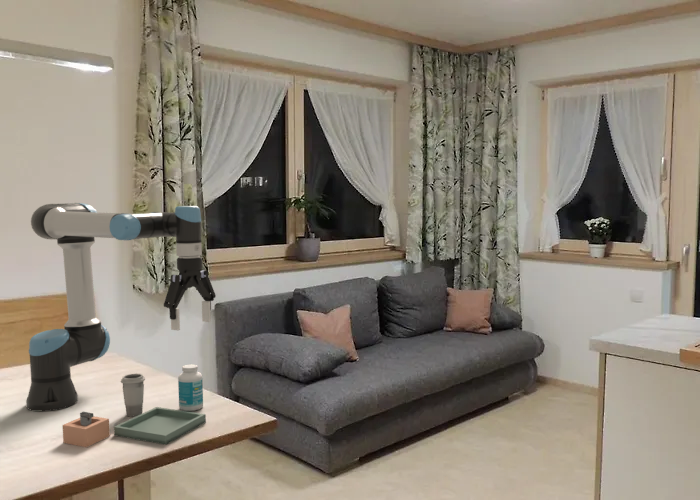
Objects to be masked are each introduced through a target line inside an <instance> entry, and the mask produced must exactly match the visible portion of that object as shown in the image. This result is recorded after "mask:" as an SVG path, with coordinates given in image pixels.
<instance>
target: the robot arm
mask: <svg viewBox="0 0 700 500" xmlns="http://www.w3.org/2000/svg"><path fill="white" fill-rule="evenodd" d="M201 215H202V214H201V208H200V207H199V206H197V205H178V206H175V208H174V212H165V211H161V212H160V211H152V212H151V211H150V212H145V213H144V212H143V213H127V212H126V213H124V212H122V213H119V212H118V213H117V212H98V210H97V209H95V208H94V207H93V206H92V205H91V204H88V203H83V202H74V203H73V202H72V203H69V202H68V203H47V204H43V205H41V206H39V207H37V208H36V209H35V211H34V212H33V213H32V215H31V218H30V225H31V229H32V230H33V232H34V233H35V234H36V235H37V236H39V237H40V238H42V239H46V240H56V241H57V245H58V246H59V248H61V249H62V253H63V268H64V278H65V279H64V280H65V291H66V303H67V304H66V305H67V313H68V314H67V315H68V316H67V317H68V319H67V321H66V322H65V323H64V325H63V326H64V328H54V329H53V328H52V329H51V330H50V329H47V330H43V331H41V332H38V333H36V334H34V335H33V336H31V338H30V340H29V341H28V342H29V344H28V346H29V347H28V354H29V368H30V386H29V390H28V395H27V398H26V400H25V403H26V404H25V405H26V406H27V407H26V406H25V407H26V409H27V408H29V409H31V410H30V411H32V410H42V411H41V412H46V411H45V410H51V411H56V409H57V410H62V409H65V408H69V407H71V406H73V405H75V404H77V403H78V401H79V397H78V392H77V389H76V387H75V385H74V383H73V380H72V377H71V367H74V366H77V365H82V364H85V363H88V362H93V361H96V360H97V359H100V358H103V356H105V354H106V353H107V352H108V350H109V348H110V343H111V337H110V333H109V331H107V330H108V329H107V328H106V326H104V325H103V324H102V320H101V319H99V318H98V317H97V315H96V313H97V312H96V303H95V291H94V290H95V289H94V280H93V279H94V278H93V277H94V276H93V265H92V264H93V262H92V252H91V247H92V246H93V245H94V243H95V240H96V239H95V238H101V239H102V238H103V239H105V238H108V239H116V240H117V241H132V240H139V239H151V238H164V237H165V238H168V237H169V238H175V240H176V242H175V245H176V246H175V247H176V248H175V249H176V256H177V258H176V269H177V271H178V274H171V276H170V282H169V283H170V284H169V286H168V290H167V293H166V295H165V300H164V302H163V307H164V308H166V309H169V320H170V328H171V330H172V331H180V330H181V327H180V326H181V325H180V322H181V321H180V307H179V304H180V303H181V301H182V299H183V296H184V295H185V293H186V291H187V290H189V289H190V288H195V289H196V291H197V292H198V294H199V295H200V297H201V298H202V299H203V300H201V314H202V316H201V317H202V318H201V319H202V322H205V323H211V322H212V321H211V311H212V302H213V301H214V300H215V298H216V295H217V294H216V293H215V290H214V288H213V285H212V283H211V280H210V276H209V270H205V269H203V257H202V254H203V253H202V252H203V251H202V250H203V249H202V220H203V219H202V216H201ZM29 409H28V410H29Z"/></svg>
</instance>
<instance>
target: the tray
mask: <svg viewBox="0 0 700 500" xmlns="http://www.w3.org/2000/svg"><path fill="white" fill-rule="evenodd" d="M206 417H207V415H206V414H205V413H199V412H195V411H183V410H181V409H173V408H168V407H167V408H166V407H160V406H159V407H158V406H156V407H154V408H152V409H149V410H147V411H145V412H142V414H140V415H138V416H135V417H133V418H132V417H131V418H130V419H128V420H126V421H123V422H121V423H119V424H116V425H115V426H113V436H116V437H120V438H127V439H131V440H136V441H137V440H138V441H144V442H149V443H153V444H155V443H156V444H159V445H160V444H161V445H167V444H170V443H171V442H174V441H175V440H177V439H179V438H180V437H182V436H184V435H186V434H188V433H189V432H192V431H193V430H195V429H197V428H198V427H200V426H202V425H204V424H205V423H207V419H206Z"/></svg>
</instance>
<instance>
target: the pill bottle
mask: <svg viewBox="0 0 700 500" xmlns="http://www.w3.org/2000/svg"><path fill="white" fill-rule="evenodd" d="M198 370H199V366H198V365H197V364H191V363H190V364H185V365H182V372H181V373H180V374H179V375H178V378H177V381H178V384H177V385H178V408H179V410H181V411H188V412H195V411H198V410H200V409H202V408H203V407H204V390H203V388H204V387H203V375H202V373H201V372H199V371H198Z"/></svg>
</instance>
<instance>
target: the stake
mask: <svg viewBox="0 0 700 500" xmlns="http://www.w3.org/2000/svg"><path fill="white" fill-rule="evenodd" d="M79 416H80V417H79V418H80V422H81V426H88V425H90V424H92V421H91V418H92V417H93V416H94V413H93V412H87V411H82V412H80V413H79Z"/></svg>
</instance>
